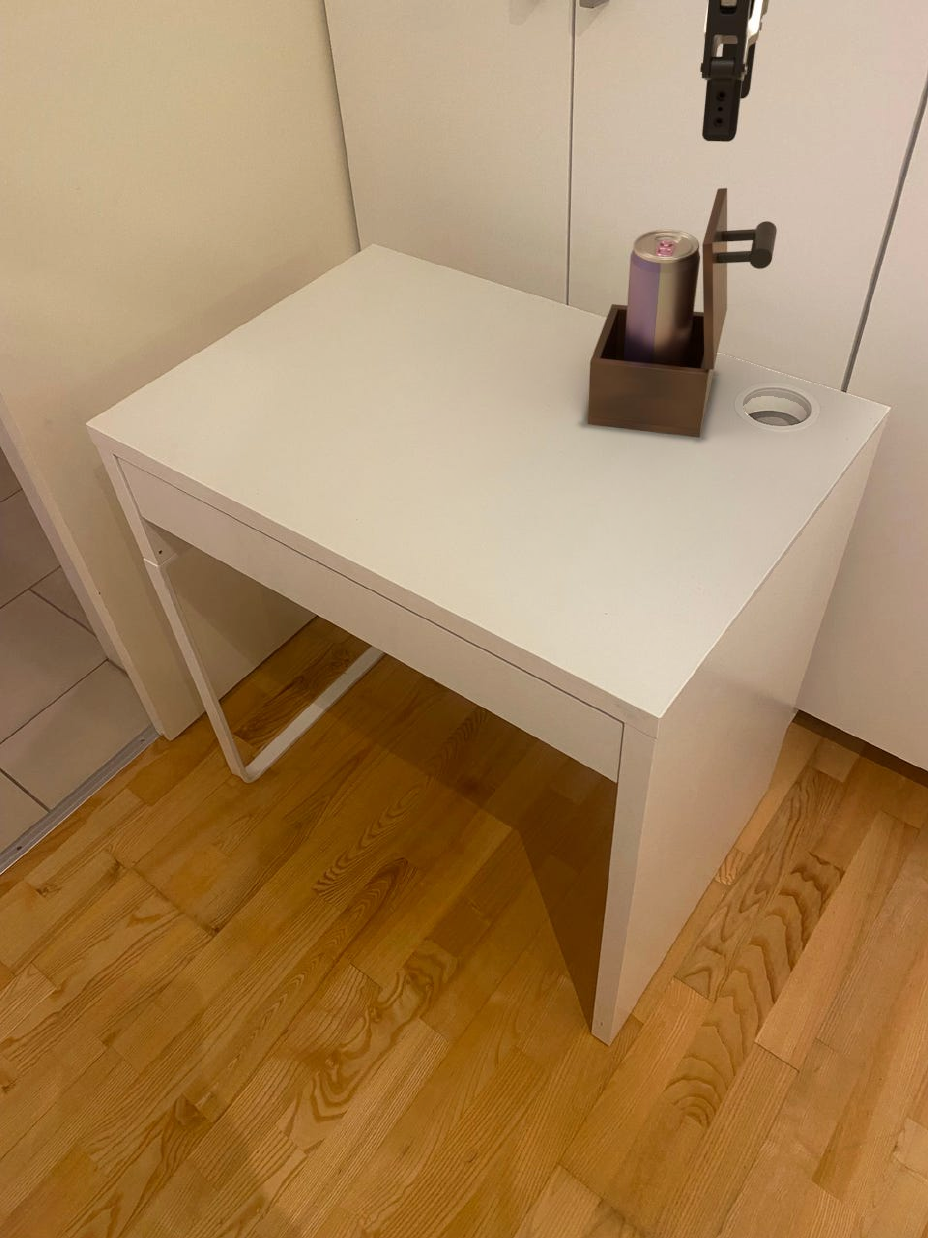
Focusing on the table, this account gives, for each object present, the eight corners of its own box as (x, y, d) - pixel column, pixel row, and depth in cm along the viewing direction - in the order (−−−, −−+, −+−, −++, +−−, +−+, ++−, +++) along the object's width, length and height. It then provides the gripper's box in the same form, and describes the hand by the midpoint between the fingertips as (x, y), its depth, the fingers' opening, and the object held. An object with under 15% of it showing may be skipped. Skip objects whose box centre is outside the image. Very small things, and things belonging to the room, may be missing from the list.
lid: (702, 243, 76) (770, 240, 74) (717, 188, 83) (780, 183, 81) (704, 369, 84) (766, 368, 82) (718, 309, 91) (775, 307, 89)
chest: (587, 423, 92) (589, 361, 87) (608, 364, 99) (611, 303, 94) (699, 437, 89) (708, 374, 84) (713, 375, 96) (722, 313, 91)
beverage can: (616, 406, 92) (625, 257, 81) (627, 372, 96) (637, 225, 85) (679, 413, 91) (696, 262, 80) (687, 379, 94) (705, 230, 84)
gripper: (817, -163, 50) (771, 157, 62) (831, -201, 60) (789, 84, 71) (674, -155, 52) (655, 154, 64) (709, -193, 62) (687, 83, 73)
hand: (726, 117), depth 68 cm, fingers open, 8 cm apart
